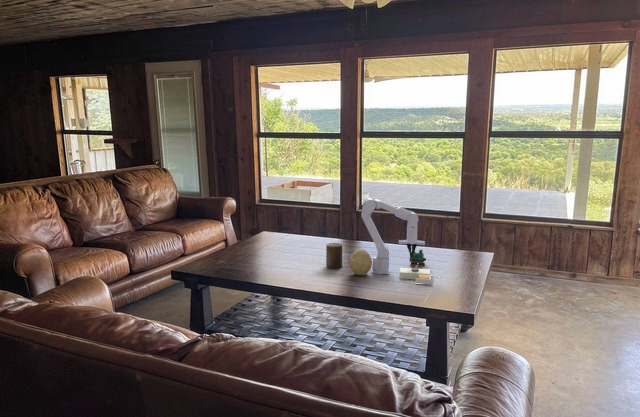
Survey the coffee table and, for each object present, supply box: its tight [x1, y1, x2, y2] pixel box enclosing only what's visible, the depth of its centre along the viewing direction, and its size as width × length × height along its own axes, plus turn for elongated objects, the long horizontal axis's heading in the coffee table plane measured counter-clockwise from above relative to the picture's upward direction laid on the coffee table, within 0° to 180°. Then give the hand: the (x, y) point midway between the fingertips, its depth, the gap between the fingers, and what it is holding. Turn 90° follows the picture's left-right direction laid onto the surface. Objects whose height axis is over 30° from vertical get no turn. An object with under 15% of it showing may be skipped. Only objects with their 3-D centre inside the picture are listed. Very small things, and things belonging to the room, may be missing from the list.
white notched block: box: [399, 267, 432, 285], centre depth 253 cm, size 16×16×4 cm
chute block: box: [419, 274, 429, 279], centre depth 249 cm, size 5×5×4 cm
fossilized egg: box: [348, 248, 373, 276], centre depth 260 cm, size 13×13×15 cm
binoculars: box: [409, 249, 427, 268], centre depth 277 cm, size 9×11×10 cm
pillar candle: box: [325, 242, 343, 270], centre depth 275 cm, size 10×10×15 cm
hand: (411, 256), depth 263 cm, fingers closed
